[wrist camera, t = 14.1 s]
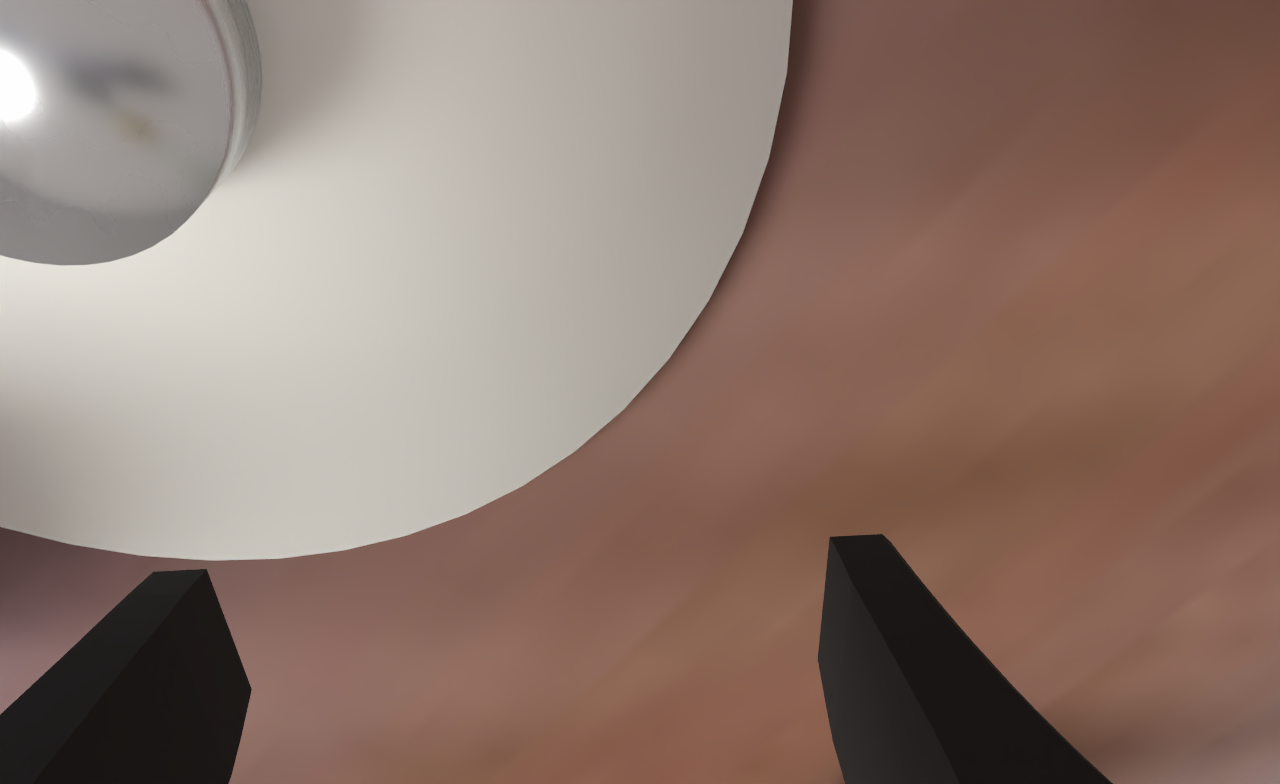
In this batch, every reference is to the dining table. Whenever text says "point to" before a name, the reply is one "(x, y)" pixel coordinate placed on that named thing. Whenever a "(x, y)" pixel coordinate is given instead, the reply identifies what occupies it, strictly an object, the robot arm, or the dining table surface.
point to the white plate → (395, 276)
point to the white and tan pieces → (118, 120)
